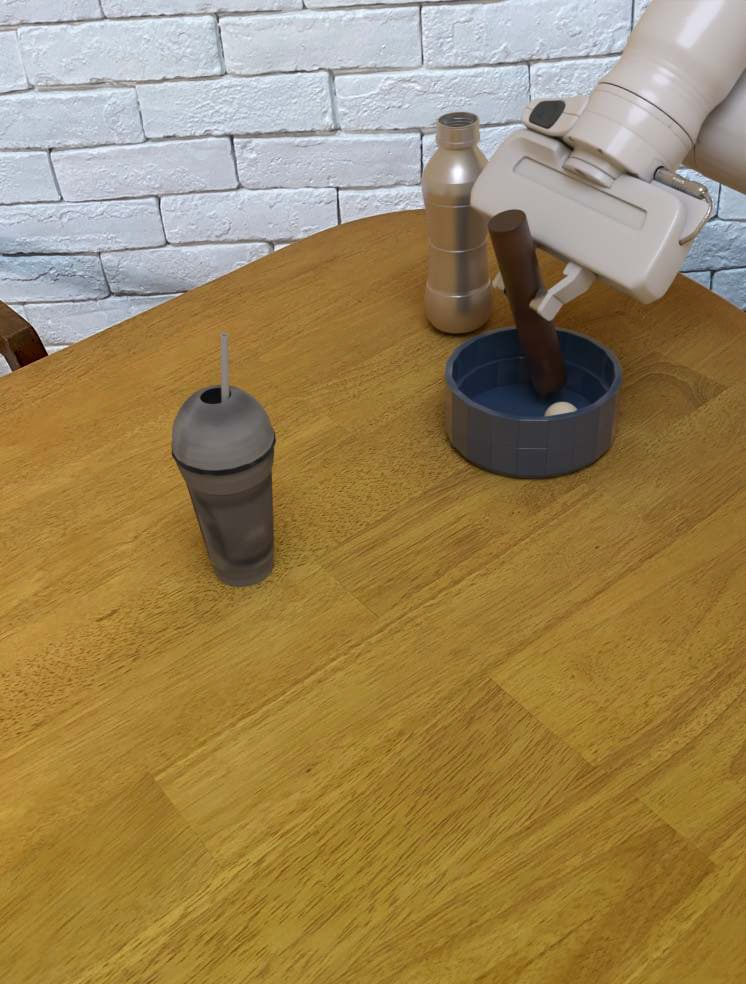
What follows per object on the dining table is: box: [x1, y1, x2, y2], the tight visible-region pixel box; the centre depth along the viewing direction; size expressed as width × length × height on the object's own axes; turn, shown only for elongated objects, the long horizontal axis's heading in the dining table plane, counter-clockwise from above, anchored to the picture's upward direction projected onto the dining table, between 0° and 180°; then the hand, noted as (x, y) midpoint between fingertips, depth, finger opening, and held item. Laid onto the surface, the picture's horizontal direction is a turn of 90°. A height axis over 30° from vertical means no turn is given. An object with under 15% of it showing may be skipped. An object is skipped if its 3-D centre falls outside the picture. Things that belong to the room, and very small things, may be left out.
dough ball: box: [544, 402, 577, 416], centre depth 93 cm, size 3×3×3 cm
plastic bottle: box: [420, 111, 494, 334], centre depth 103 cm, size 6×7×20 cm
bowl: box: [444, 325, 624, 480], centre depth 94 cm, size 14×14×6 cm
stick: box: [487, 209, 568, 393], centre depth 91 cm, size 3×3×16 cm
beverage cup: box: [171, 332, 277, 587], centre depth 79 cm, size 7×7×20 cm
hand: (519, 303), depth 90 cm, fingers closed on stick, 3 cm apart
